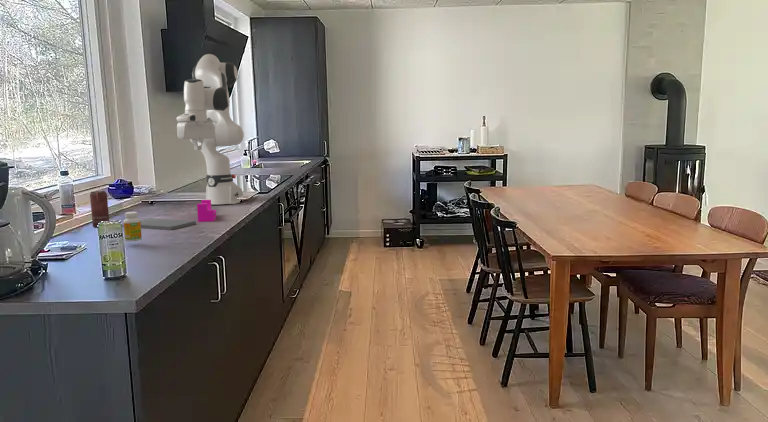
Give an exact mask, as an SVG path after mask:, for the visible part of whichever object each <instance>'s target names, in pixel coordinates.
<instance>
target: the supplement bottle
mask: <svg viewBox="0 0 768 422" xmlns="http://www.w3.org/2000/svg"><path fill="white" fill-rule="evenodd" d="M138 216H139V215H138V212H137V211H127V212H125V213H124V217H125V219H123V230H124V241H125V242H138V241H141V240H143V239H142V237H143V235H142V228H141V222H140V220H141V219H140V218H139V217H138Z"/></svg>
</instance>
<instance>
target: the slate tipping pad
mask: <svg viewBox="0 0 768 422" xmlns="http://www.w3.org/2000/svg"><path fill="white" fill-rule="evenodd" d="M140 222H141V229H150V230H151V229H152V230H166V231H167V230H168V231H173V230H176V229H181V228H185V227H188V226H189V227H190V226H193V225H196V224H197V221H196V220H183V219H181V220H179V219H169V218H168V219H167V218H153V217H149V218H145V219H140Z"/></svg>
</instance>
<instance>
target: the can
mask: <svg viewBox="0 0 768 422" xmlns="http://www.w3.org/2000/svg"><path fill="white" fill-rule="evenodd" d="M89 200H90V210H91V222H92V226H93V228H98V227H97V225H98V223H99V222H101V221H109V222H110V214H109V202H108V201H109V200H108V193H107V192H106V191H105V190H98V191H90V194H89Z"/></svg>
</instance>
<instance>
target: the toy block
mask: <svg viewBox="0 0 768 422" xmlns="http://www.w3.org/2000/svg"><path fill="white" fill-rule="evenodd" d="M196 209H197V222H198V223H202V222H204V223H205V222H207V223H208V222H215V220H216V219H217V216H218V215H217V210H216V209H212V204H211V200H206V199H201V203H196Z"/></svg>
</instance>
